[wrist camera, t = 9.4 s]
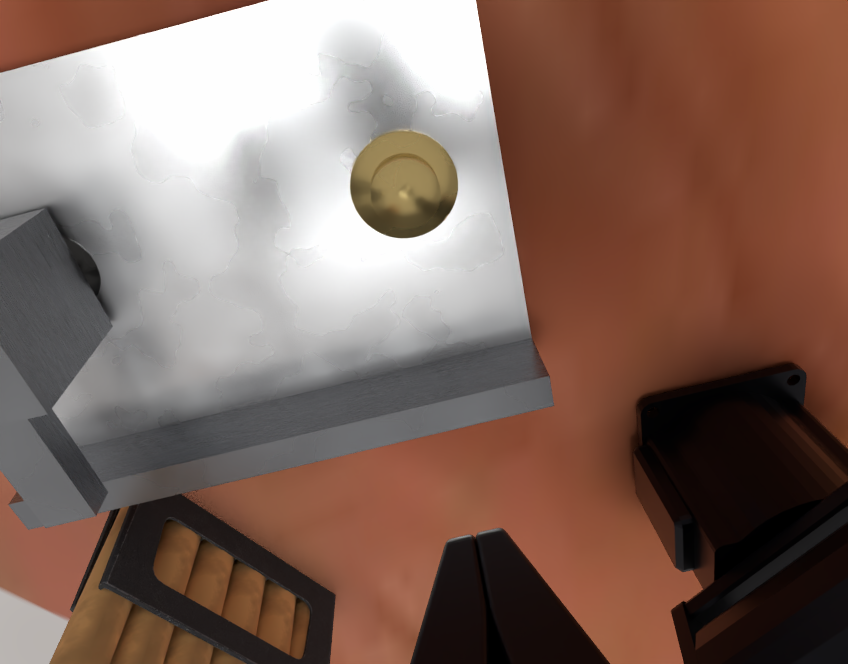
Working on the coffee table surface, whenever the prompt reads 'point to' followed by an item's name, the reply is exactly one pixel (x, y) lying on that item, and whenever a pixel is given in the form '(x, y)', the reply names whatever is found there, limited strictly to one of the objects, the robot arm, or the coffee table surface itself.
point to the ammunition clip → (192, 596)
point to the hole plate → (277, 238)
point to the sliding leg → (44, 367)
